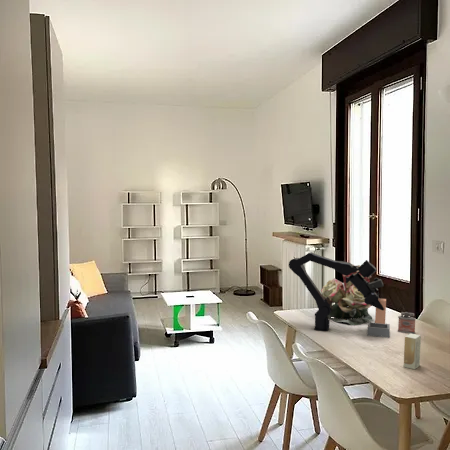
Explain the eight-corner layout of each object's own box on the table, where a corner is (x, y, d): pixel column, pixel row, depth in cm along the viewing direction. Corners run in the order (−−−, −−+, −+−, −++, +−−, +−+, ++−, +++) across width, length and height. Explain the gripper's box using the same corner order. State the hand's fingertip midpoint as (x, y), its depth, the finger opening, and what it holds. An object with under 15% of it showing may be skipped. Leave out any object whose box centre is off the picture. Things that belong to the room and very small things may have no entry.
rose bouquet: (314, 316, 273) (315, 262, 272) (356, 312, 286) (357, 260, 284) (344, 327, 250) (346, 268, 248) (388, 322, 263) (390, 266, 261)
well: (367, 335, 237) (367, 327, 236) (368, 330, 246) (368, 322, 246) (389, 337, 234) (389, 329, 233) (389, 332, 243) (389, 324, 243)
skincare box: (408, 363, 197) (410, 332, 196) (420, 365, 194) (421, 334, 194) (402, 367, 192) (404, 336, 191) (414, 369, 189) (415, 338, 189)
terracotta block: (375, 322, 235) (376, 299, 235) (375, 320, 239) (376, 298, 239) (385, 323, 234) (386, 300, 233) (385, 321, 238) (386, 299, 237)
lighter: (397, 332, 244) (398, 311, 243) (398, 330, 247) (399, 310, 246) (414, 334, 240) (415, 314, 240) (415, 332, 243) (416, 312, 243)
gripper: (372, 275, 228) (397, 301, 225) (374, 270, 245) (396, 294, 242) (354, 291, 231) (378, 317, 228) (357, 285, 248) (379, 309, 245)
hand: (383, 308), depth 236 cm, fingers closed on terracotta block, 4 cm apart
